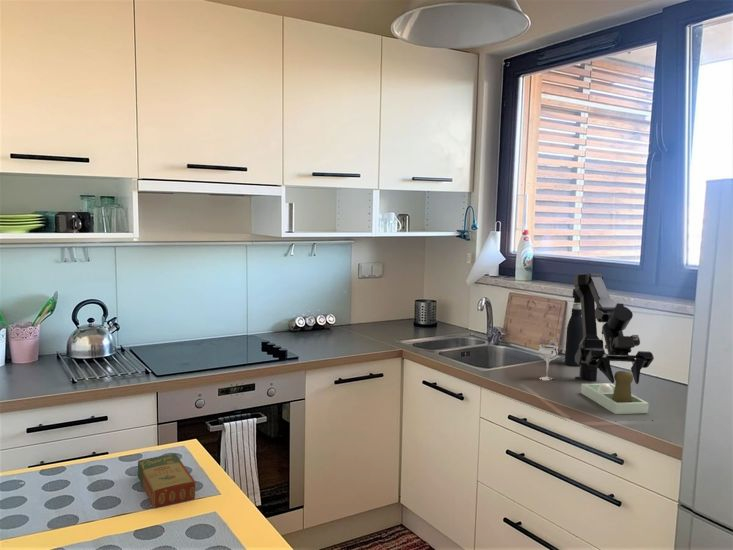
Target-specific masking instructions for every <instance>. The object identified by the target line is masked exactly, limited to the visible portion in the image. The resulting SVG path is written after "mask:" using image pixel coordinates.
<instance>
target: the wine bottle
mask: <svg viewBox="0 0 733 550" xmlns="http://www.w3.org/2000/svg"><path fill="white" fill-rule="evenodd" d="M572 298H574V299H573V303H572V308H571V316H570V318H569V321H568V323H567V327H566V335H565V336H566V337H565V351H564V352H565V353H564V365H566V366H567V367H568V366H569V367H573V368H575V367H579V368H580V365H578V364H577V363H576V362H575V355H576V353H577V351H578V349H579V344H580V342H581V341H582V339H583V326H582V312H581V299H580V297H579V296H578V294H577V293H576V292H575V288H573V289H572Z"/></svg>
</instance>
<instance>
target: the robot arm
mask: <svg viewBox="0 0 733 550" xmlns="http://www.w3.org/2000/svg"><path fill="white" fill-rule="evenodd" d="M572 283H573V287H574V289H575V292H576V293H577V294H578V296H579V297H580V299H581V303H580V304H581V312H582V326H583V339H582V341H581V342H580V344H579V349H578V351H577V353H576V355H575V362H576V363H577V364H578V365H580V366H579V372H578V376H575V377H574V379H576V380H579V381H580V380H581V381H582V380H584V381H588V382H597V380H598V379H597V378H598V370H599V371H600V372H601V373H603V375H604V376H605V377H606V378H607V380H609V381H610V383H612V384H614V383H615V378H614V374H613V371H612V366H611V362H620V363H621V362H622V363H623V362H624V363H625V362H627V363H631V364H632V366H631V368H630V371H631V374H632V375H633V380H634V383H635V385H638V384H639V382H640V376H641V369H646V368H648V367H650V365H651V363H652V362H653V361H654V359H655V358H654V355H653V353H652V352H651V351H650V350H649V351H643V350H640V351H639V350H638V351H637V353H636V354H635V355H634V354H633V355H630V353H632V349H633V348H635V347H638V346H640V344H641V339H640V337H639V334H632V335H630V336H629V335H627V336H626V335H624V330H626V329H627V327H628V325H629V324H630V322H631V320H632V318H633V317H634V315H633V311H631V310H630V308H629V307H626V306H624V303H617V301H615V300H614V299H611V296H610V293H609V292H608V289H607V287H606V285H605V282H604V275H603V274H601V273H598V272H595V273H594V272H592V273H591V272H589V273H577V274H576V276H574V277H573V281H572ZM597 322H598V323H603V325H602V328H601V335H603V338H604V340H602V339H601V338H600V337H599V336H598V330H597V328H598V327H597ZM604 342H605V345H604ZM606 351H607V352H606Z"/></svg>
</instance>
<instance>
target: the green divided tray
mask: <svg viewBox="0 0 733 550" xmlns="http://www.w3.org/2000/svg"><path fill="white" fill-rule="evenodd" d="M600 384H601V383H581V387H580V388H581V391H580V393H581V394H582V395H583V396H585V397H587V398H588V399H590V400H592V401H594V402H595V403H597V404H599V405H600V406H602V407H603V408H605V409H606V410H608V411H610V412H611V413H613V414H615V415H622V414H623V415H624V414H625V415H627V414H628V415H629V414H648V413H649V402H647V401H646V400H643V399H641V398H639V397H638V396H636V395H634V394H633V393H631V399H632V402H628V403H617V402H615V401H613V400H612V398H613V393H614V389H615V384H614V383H611V382H610V383H607V382H606V384H609V385H610V386H611V387H612V389H613V393H599V392H598V391H597V389H598V386H599V385H600Z"/></svg>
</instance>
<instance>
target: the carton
mask: <svg viewBox="0 0 733 550" xmlns="http://www.w3.org/2000/svg"><path fill="white" fill-rule="evenodd" d="M137 478H138V480H139V482H140V483H141V485H142V488H143V489H144V492H145V494H146V496H147V498H148V499H149V502H150V504H151V505H152V507H153V509H157V508H158V509H159V508H162V507H168V506H171V505H176V504H180V503H184V502H188V501H194V500H195V499H196V480H195V479H194V477H193V476H192V475H191V473H190V472H189V470H188V469H187V467H185V465H184V463H183V462H182V461H181V459H180V458H179V456H178V455H177V453H169V454H165V455H160V456H154V457H149V458H144V459H139V460H138V461H137Z"/></svg>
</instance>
